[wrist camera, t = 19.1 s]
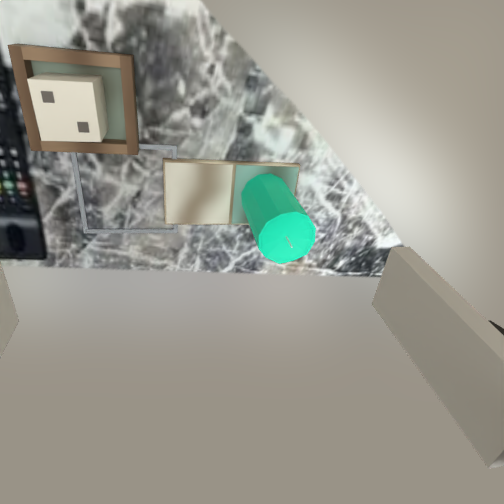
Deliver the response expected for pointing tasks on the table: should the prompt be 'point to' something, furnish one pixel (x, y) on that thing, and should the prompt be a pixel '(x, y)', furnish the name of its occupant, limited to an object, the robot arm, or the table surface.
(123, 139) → the tray
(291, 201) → the candle
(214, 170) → the beige green flat slab
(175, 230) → the pad
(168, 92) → the table surface
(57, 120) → the die
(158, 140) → the table surface
